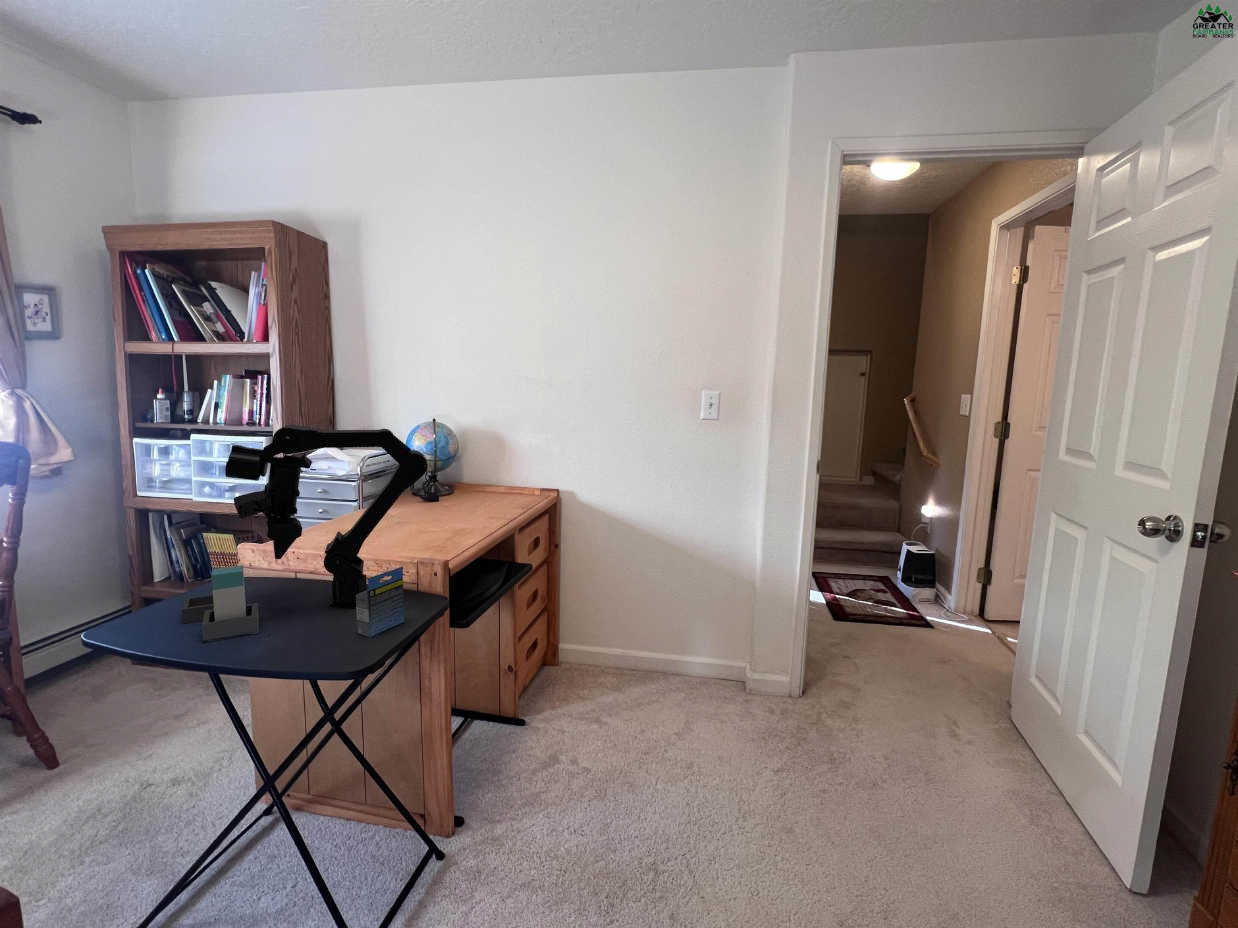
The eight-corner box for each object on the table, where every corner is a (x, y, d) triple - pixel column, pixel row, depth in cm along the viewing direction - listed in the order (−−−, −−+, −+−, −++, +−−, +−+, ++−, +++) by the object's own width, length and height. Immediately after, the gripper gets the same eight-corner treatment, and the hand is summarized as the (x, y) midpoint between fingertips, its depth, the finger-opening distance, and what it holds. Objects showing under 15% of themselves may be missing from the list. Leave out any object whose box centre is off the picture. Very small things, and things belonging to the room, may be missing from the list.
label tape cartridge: (392, 618, 123) (390, 562, 122) (405, 622, 122) (404, 565, 120) (356, 633, 115) (354, 574, 114) (370, 638, 114) (367, 578, 112)
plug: (246, 621, 118) (243, 565, 117) (246, 629, 115) (242, 571, 113) (217, 626, 116) (212, 569, 114) (216, 634, 112) (211, 575, 111)
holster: (231, 604, 128) (231, 591, 128) (230, 616, 122) (229, 602, 122) (186, 611, 124) (185, 598, 123) (182, 623, 118) (181, 609, 117)
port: (258, 618, 121) (257, 602, 121) (258, 633, 115) (257, 616, 114) (206, 627, 117) (204, 610, 116) (203, 642, 110) (201, 625, 109)
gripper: (235, 466, 125) (228, 531, 129) (242, 499, 111) (234, 571, 115) (293, 468, 132) (285, 530, 136) (306, 500, 118) (297, 568, 122)
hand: (275, 549), depth 127 cm, fingers open, 9 cm apart
